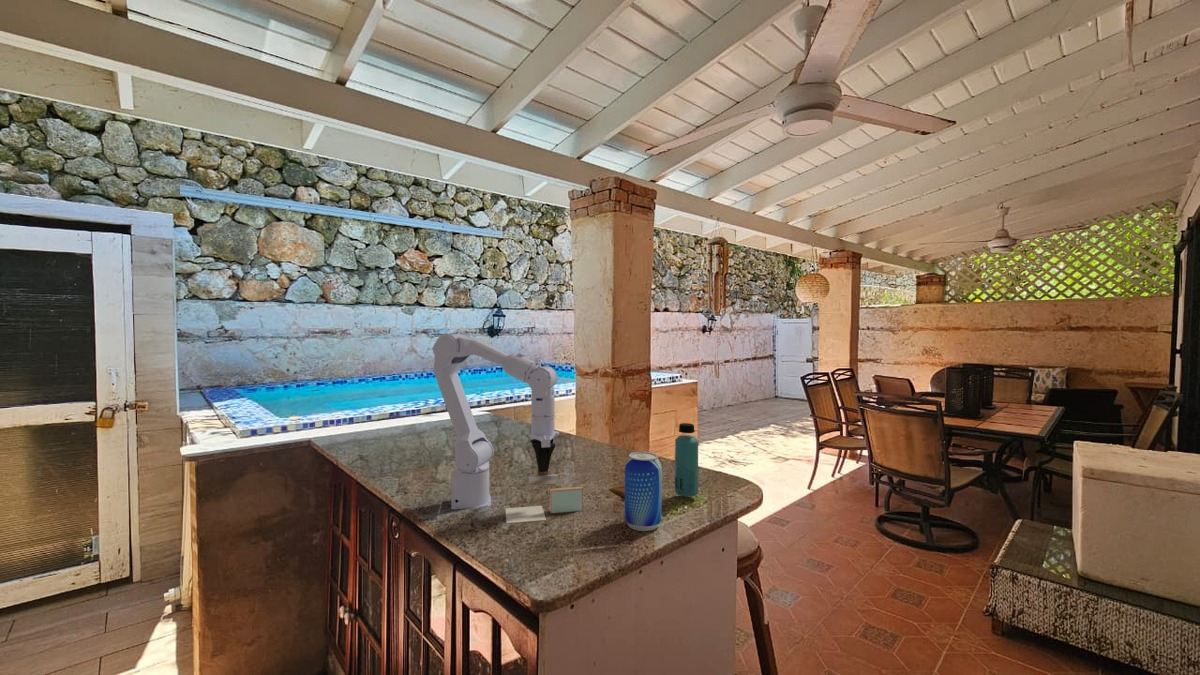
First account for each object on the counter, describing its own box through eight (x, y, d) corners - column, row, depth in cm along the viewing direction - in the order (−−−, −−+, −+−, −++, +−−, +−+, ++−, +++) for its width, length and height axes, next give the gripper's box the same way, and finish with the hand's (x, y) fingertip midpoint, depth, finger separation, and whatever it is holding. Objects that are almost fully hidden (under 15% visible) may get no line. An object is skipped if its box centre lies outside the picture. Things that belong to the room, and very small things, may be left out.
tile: (550, 515, 112) (550, 490, 111) (549, 513, 113) (549, 488, 113) (582, 512, 113) (583, 488, 113) (581, 510, 115) (581, 486, 115)
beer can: (664, 520, 109) (665, 452, 109) (657, 535, 101) (657, 461, 101) (630, 515, 112) (630, 449, 111) (620, 529, 104) (620, 458, 103)
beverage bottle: (702, 496, 125) (702, 423, 125) (693, 504, 119) (694, 427, 119) (679, 492, 128) (680, 420, 128) (669, 499, 123) (670, 424, 123)
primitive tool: (608, 490, 131) (608, 478, 131) (625, 487, 133) (625, 475, 133) (644, 514, 113) (644, 500, 113) (663, 511, 116) (663, 497, 116)
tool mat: (506, 525, 105) (506, 523, 105) (505, 510, 114) (505, 508, 114) (546, 521, 108) (546, 519, 108) (541, 507, 116) (541, 505, 116)
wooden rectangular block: (529, 485, 112) (529, 456, 112) (528, 481, 115) (528, 453, 115) (557, 483, 114) (558, 455, 114) (556, 479, 117) (556, 451, 117)
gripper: (563, 419, 109) (562, 477, 109) (555, 409, 123) (555, 460, 123) (532, 420, 107) (532, 479, 107) (528, 410, 121) (528, 462, 121)
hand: (542, 469), depth 115 cm, fingers closed on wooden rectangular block, 2 cm apart
